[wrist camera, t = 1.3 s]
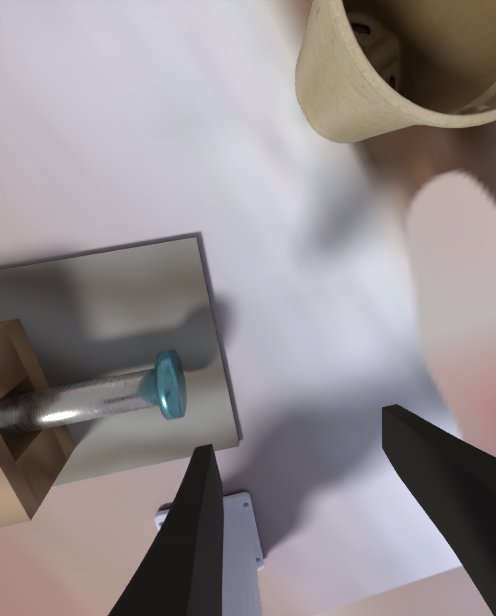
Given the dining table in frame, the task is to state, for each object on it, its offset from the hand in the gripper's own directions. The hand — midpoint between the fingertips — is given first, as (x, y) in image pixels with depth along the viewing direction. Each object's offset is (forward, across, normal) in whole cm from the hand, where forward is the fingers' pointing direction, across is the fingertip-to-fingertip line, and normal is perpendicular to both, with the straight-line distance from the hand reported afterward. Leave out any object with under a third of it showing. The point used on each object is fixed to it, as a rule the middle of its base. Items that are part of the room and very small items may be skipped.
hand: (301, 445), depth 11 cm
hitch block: (+9, +14, 0) cm, 17 cm away
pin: (+9, +11, 0) cm, 14 cm away
